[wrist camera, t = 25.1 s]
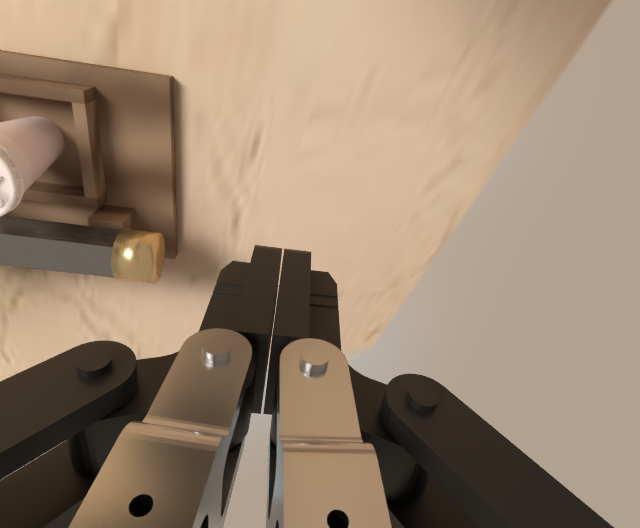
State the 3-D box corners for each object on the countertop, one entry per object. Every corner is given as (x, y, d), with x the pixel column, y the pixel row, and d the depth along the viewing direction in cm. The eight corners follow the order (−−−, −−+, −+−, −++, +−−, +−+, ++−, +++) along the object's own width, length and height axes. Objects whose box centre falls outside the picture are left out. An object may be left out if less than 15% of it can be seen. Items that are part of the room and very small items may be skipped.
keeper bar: (-113, 189, 37) (-161, 211, 33) (163, 224, 39) (147, 248, 35) (-95, 235, 40) (-139, 260, 36) (165, 266, 41) (150, 293, 37)
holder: (-112, 33, 35) (-232, 42, 27) (172, 76, 36) (134, 96, 29) (-50, 226, 43) (-128, 274, 36) (177, 253, 45) (148, 305, 37)
